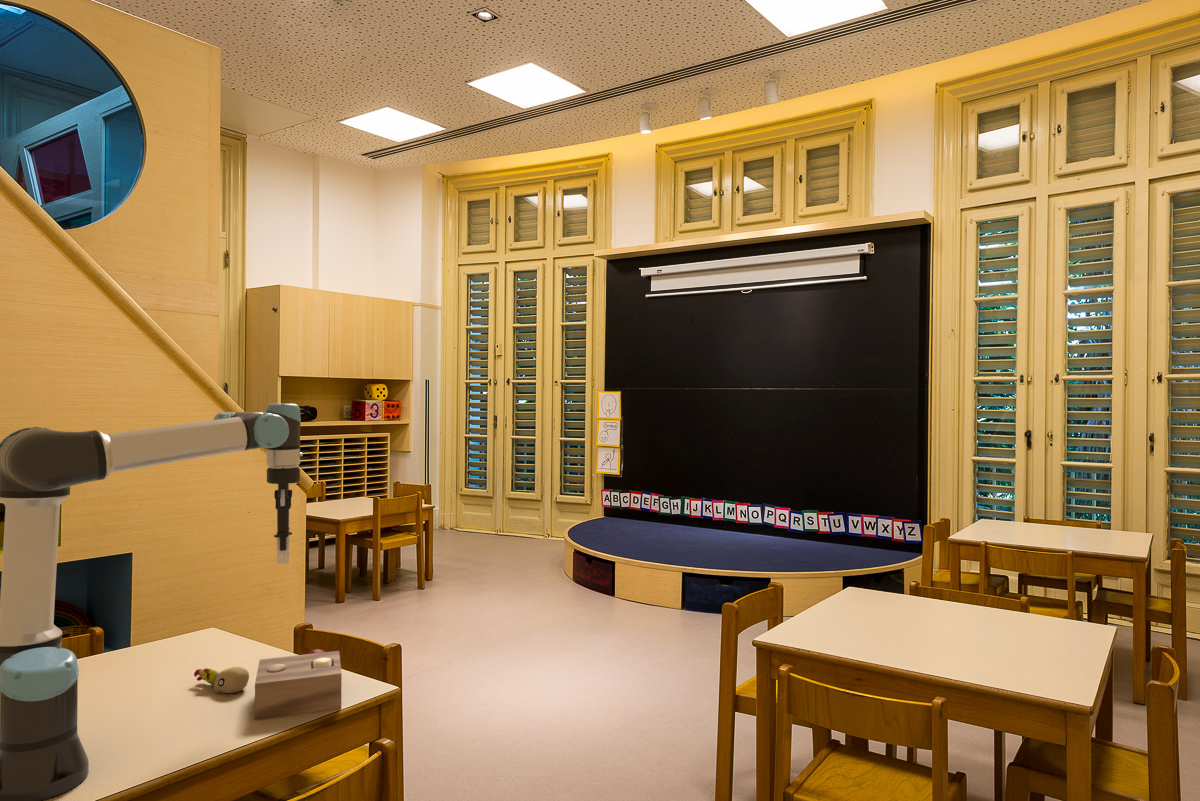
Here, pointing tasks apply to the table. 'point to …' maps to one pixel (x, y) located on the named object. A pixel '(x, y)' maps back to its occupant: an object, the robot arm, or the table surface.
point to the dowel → (322, 662)
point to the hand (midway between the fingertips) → (283, 562)
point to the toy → (225, 679)
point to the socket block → (297, 685)
